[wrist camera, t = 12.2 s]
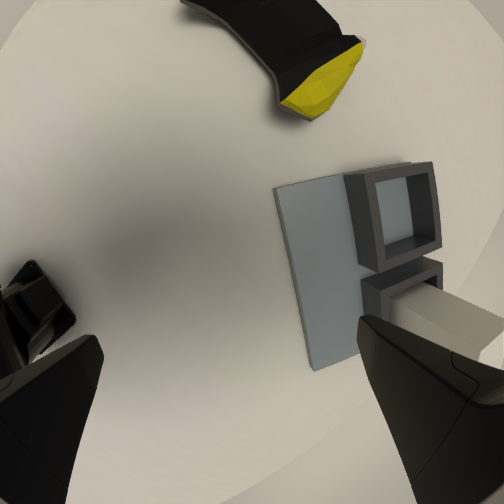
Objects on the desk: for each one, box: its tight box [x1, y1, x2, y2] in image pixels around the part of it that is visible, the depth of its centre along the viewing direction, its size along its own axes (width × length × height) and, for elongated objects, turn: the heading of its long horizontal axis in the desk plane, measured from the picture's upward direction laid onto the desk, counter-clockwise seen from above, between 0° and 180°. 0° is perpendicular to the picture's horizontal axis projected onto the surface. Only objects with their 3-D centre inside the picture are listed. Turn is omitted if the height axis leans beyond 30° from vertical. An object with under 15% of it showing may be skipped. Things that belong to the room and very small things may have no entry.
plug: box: [389, 282, 504, 369], centre depth 18 cm, size 4×4×12 cm
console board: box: [273, 162, 443, 372], centre depth 21 cm, size 13×16×4 cm
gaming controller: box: [180, 0, 366, 122], centre depth 16 cm, size 15×6×10 cm
